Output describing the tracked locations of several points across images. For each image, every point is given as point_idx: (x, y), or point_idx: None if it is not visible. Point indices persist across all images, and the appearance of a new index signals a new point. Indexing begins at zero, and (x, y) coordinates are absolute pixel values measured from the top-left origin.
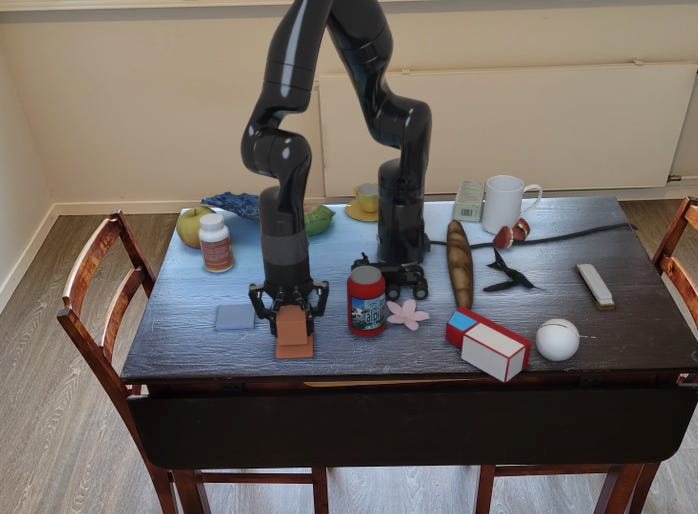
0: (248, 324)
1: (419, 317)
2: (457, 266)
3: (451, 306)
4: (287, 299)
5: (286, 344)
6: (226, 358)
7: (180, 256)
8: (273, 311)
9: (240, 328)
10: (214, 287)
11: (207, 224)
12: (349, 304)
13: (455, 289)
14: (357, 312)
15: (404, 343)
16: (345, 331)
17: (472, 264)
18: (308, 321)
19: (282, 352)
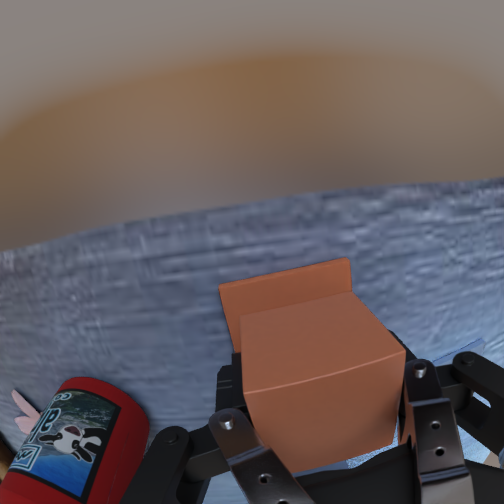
0: None
1: (26, 423)
2: None
3: (10, 438)
4: (381, 495)
5: (323, 298)
6: (468, 239)
7: (481, 460)
8: (439, 399)
9: (440, 359)
10: (460, 438)
11: None
12: (105, 472)
13: (5, 463)
14: (73, 441)
15: (13, 353)
16: (153, 400)
17: None
18: (238, 402)
19: (330, 282)
